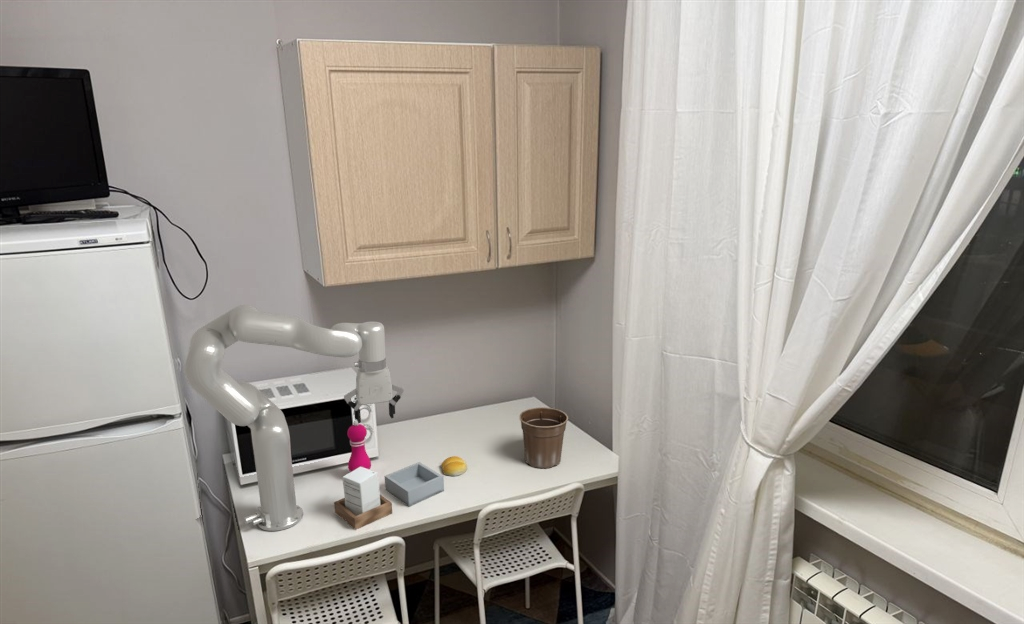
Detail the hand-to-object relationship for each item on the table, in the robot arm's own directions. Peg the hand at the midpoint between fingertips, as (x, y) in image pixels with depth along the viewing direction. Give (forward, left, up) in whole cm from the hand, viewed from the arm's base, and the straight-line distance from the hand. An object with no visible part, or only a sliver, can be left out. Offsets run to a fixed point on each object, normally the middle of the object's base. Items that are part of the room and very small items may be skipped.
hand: (375, 418), depth 190 cm
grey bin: (+9, -5, -25) cm, 27 cm away
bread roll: (+26, -3, -26) cm, 37 cm away
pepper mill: (+1, +14, -26) cm, 29 cm away
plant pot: (+52, -19, -26) cm, 61 cm away
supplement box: (-9, -5, -26) cm, 28 cm away
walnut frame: (-9, -5, -25) cm, 27 cm away
